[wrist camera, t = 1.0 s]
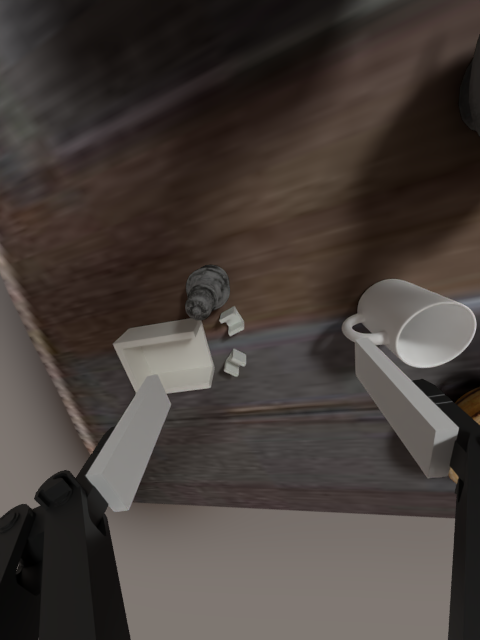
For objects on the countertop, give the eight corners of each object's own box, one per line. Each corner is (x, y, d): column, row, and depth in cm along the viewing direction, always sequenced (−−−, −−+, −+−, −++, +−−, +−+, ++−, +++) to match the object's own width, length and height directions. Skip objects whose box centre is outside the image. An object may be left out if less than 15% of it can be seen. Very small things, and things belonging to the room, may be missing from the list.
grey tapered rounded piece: (217, 254, 32) (202, 274, 21) (238, 289, 34) (235, 324, 23) (183, 275, 33) (153, 304, 22) (206, 308, 35) (188, 349, 24)
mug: (333, 339, 37) (363, 381, 28) (327, 292, 34) (358, 321, 24) (412, 321, 35) (472, 359, 26) (413, 270, 32) (481, 292, 23)
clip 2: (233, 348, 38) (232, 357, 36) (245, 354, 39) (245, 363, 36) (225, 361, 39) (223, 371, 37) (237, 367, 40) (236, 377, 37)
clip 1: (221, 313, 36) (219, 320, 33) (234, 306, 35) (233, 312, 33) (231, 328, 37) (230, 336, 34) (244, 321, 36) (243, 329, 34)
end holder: (129, 328, 37) (112, 343, 32) (200, 316, 36) (193, 331, 31) (149, 377, 41) (138, 397, 36) (214, 368, 40) (210, 387, 35)
